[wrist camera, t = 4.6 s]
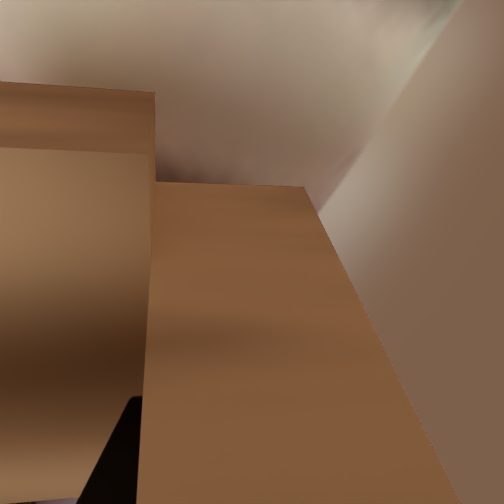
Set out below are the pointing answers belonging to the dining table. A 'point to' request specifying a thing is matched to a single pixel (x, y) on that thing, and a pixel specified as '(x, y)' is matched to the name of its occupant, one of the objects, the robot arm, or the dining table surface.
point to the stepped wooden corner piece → (182, 326)
